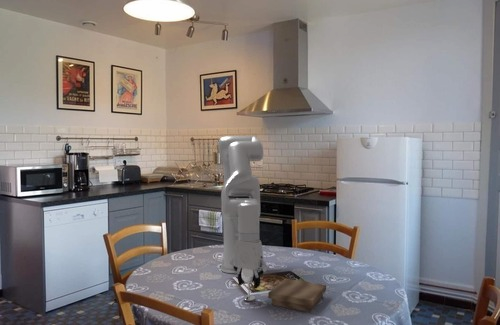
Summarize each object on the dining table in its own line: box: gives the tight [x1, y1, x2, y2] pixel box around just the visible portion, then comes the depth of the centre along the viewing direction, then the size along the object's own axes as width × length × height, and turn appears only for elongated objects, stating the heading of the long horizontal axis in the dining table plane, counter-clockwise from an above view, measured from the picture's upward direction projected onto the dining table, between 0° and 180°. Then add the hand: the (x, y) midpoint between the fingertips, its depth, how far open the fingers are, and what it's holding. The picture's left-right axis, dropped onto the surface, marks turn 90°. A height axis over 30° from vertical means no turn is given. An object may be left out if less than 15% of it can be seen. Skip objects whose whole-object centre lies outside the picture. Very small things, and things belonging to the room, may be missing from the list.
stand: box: [267, 278, 327, 313], centre depth 140 cm, size 16×16×4 cm
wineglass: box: [241, 269, 256, 301], centre depth 141 cm, size 6×6×12 cm
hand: (249, 285), depth 141 cm, fingers closed on wineglass, 5 cm apart
